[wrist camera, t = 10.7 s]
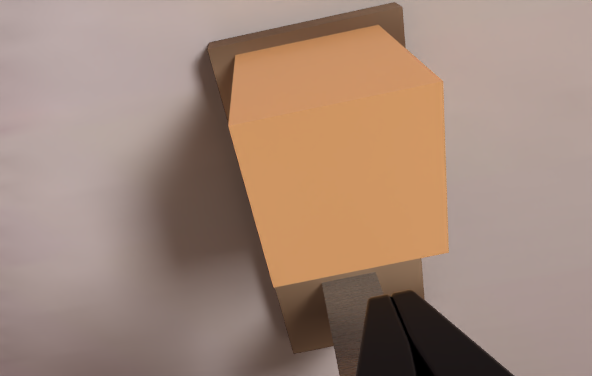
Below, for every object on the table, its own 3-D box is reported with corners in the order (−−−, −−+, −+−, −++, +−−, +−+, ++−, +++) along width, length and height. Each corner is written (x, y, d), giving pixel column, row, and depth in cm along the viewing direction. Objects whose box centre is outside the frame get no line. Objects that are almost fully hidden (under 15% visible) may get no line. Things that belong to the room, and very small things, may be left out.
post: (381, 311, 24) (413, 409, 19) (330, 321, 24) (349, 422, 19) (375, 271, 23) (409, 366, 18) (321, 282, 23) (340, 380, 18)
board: (420, 313, 26) (426, 327, 25) (292, 339, 26) (293, 353, 25) (394, 2, 18) (402, 7, 17) (209, 42, 18) (207, 49, 17)
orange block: (390, 153, 20) (448, 252, 14) (266, 179, 20) (273, 287, 14) (378, 24, 17) (443, 80, 11) (235, 55, 17) (228, 125, 12)
